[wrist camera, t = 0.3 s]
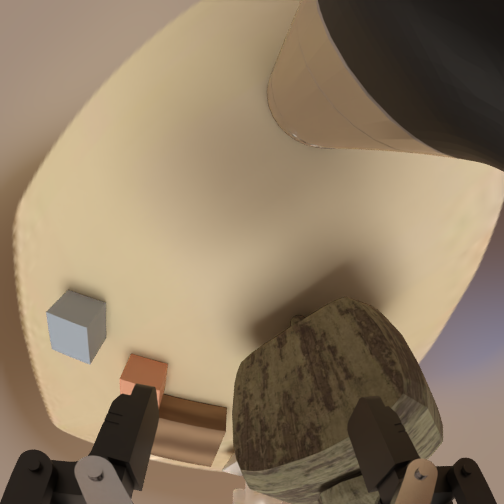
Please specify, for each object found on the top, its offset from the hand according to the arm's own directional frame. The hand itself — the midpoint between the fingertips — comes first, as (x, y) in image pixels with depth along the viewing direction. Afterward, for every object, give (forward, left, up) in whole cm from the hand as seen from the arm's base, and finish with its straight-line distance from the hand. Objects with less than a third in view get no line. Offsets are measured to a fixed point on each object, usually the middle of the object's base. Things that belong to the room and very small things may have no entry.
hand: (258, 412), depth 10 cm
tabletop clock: (+7, +8, -18) cm, 21 cm away
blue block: (+12, -16, -18) cm, 27 cm away
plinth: (+27, -3, -18) cm, 32 cm away
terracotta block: (+18, -8, -18) cm, 26 cm away
